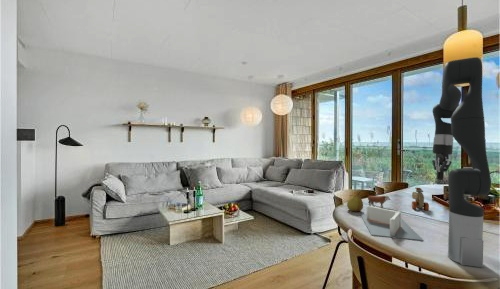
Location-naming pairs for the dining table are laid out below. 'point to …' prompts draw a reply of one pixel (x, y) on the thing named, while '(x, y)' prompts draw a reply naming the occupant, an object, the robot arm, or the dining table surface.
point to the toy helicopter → (419, 200)
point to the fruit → (355, 203)
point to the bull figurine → (378, 200)
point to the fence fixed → (395, 223)
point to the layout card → (384, 229)
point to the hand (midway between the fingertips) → (439, 179)
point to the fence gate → (380, 214)
